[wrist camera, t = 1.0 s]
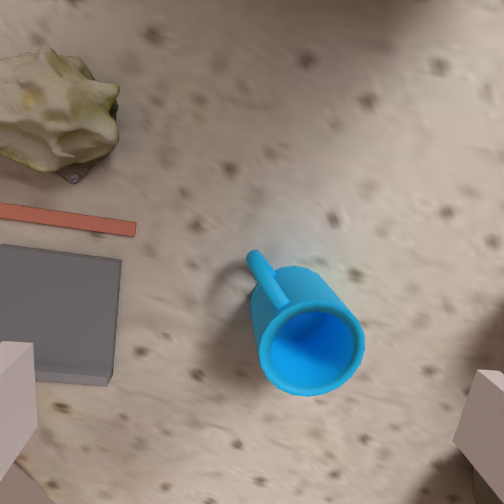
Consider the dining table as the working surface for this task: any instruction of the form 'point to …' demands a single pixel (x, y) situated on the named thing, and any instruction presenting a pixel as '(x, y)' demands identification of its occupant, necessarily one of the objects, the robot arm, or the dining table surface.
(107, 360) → the mat
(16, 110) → the fruit
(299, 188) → the dining table surface
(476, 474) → the dark grey round stone
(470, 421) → the robot arm
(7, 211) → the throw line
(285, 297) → the mug
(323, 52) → the dining table surface
